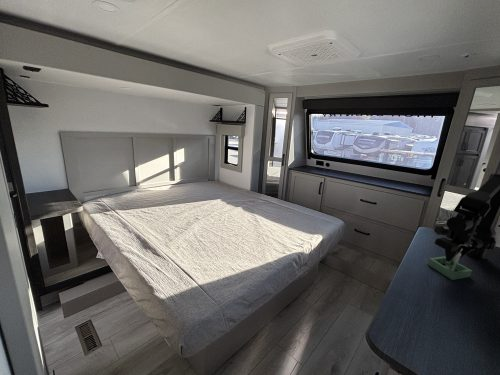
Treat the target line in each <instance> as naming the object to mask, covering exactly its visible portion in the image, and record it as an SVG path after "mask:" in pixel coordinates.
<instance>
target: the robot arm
mask: <svg viewBox="0 0 500 375" xmlns="http://www.w3.org/2000/svg"><path fill="white" fill-rule="evenodd" d="M453 212H455V213H456V215H455V216H452V217H449V218H447V220H446V226H443V225H436V226H435V227H434V229H433V232H434V233H435V234H436V235H438V236H445V237H438V238H435V240H434V242H433V243H434V245H436V246H438V247H440V248H442V249H444V252H445V256H446V261H448V262H450V261H451V260H452V259H453V258H454V257H455V256H456V255H457V254H458V253H459V252H460V250H461V249H463V250H462V251H461V252H460V253H461V257H460V259H462V258H464V257H465V256H466V255H467V256H469V257H472V258H473V259H475V260H478V261H480V260H486V259H488V257H487V256H485V255H486V252H487V250H491V251H492V250H493V251H494V250H495V248H496V245H497V240H496V234H497V232H496V230H495V228H494V226H495V225H496V224H495V223H496V221H497V220H498V217H499V214H500V173H496V172H495V173H491V174H490V175H489V177H488V179H487V180H486V181H485V182H484V183H483V184H482V185H481V187H479V188H478V189H477V190H476V191H472V192H469V193H467V194H466V195H465V196H463V197H462V198H460V200H459V201H458V203H457V204H456V205H455V207H454V208H453Z"/></svg>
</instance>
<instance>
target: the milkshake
mask: <svg viewBox="0 0 500 375" xmlns="http://www.w3.org/2000/svg"><path fill="white" fill-rule="evenodd" d="M462 250H463V249H461V250H460V252H461V251H462ZM460 252H459V253H458V254H457V255H456V256H455V257H454V258H453V259H452V260H451V261H450V262H448V261H446V259H445V263H444V266H445V267H447V268H448V269H450V270H452V271H453V272H455V271H456V270H455V268H456V266H457V263H459V261H460V259H461V258H460V257H461V253H460Z"/></svg>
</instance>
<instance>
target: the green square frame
mask: <svg viewBox="0 0 500 375" xmlns="http://www.w3.org/2000/svg"><path fill="white" fill-rule="evenodd" d="M445 259H446V255H443V256H439V257H438V256H436V257H429V258H428V261H427V263H426V264H427V265H428V266H429V267H431V268H432V269H434V270H435V271H437V272H439V273H440V274H442V275H444V276H445V277H446V278H448V279H450V280H452V281H454V280H458V279H459V280H460V279H464V278H470V277H471V274H472V273H473V270H472V269H470V268H468V267H466V266H465V265H463V264H460V263H459V262H458V263H457V266H456V268H455V271H454V272H453V271H452V270H450V269H448V268H447V267H445ZM443 264H444V265H443Z"/></svg>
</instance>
